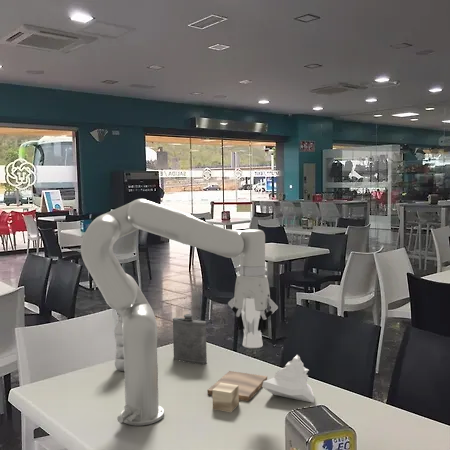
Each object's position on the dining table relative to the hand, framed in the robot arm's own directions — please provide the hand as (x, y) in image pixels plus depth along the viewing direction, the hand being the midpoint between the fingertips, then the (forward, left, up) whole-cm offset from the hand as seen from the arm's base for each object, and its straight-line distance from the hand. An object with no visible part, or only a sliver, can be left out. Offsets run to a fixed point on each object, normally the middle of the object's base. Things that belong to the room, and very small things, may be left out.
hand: (252, 329), depth 155 cm
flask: (+28, +36, -24) cm, 52 cm away
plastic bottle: (+11, +54, -24) cm, 60 cm away
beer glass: (0, 0, -5) cm, 5 cm away
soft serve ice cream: (+10, -9, -24) cm, 27 cm away
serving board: (+11, +9, -23) cm, 28 cm away
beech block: (-4, +7, -23) cm, 25 cm away
